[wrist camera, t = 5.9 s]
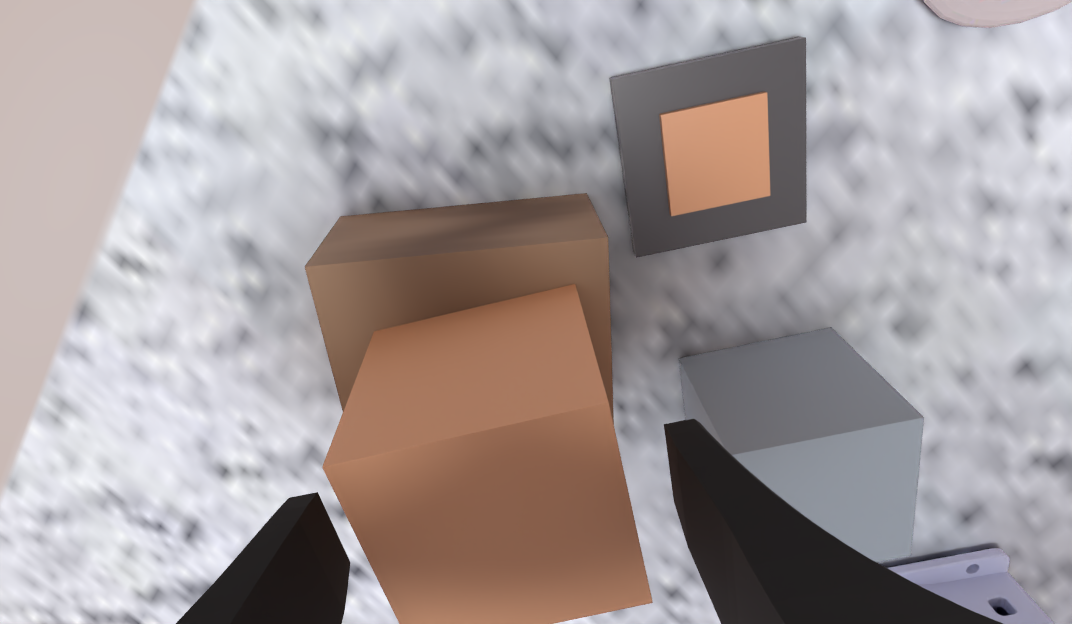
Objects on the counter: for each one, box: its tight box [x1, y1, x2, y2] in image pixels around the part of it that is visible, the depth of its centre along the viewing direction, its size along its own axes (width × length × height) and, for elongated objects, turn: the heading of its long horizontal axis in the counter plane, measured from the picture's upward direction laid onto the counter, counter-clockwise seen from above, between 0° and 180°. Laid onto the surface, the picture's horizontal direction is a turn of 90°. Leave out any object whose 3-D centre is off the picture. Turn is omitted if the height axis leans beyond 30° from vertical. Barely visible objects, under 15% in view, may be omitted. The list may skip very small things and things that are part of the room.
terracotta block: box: [322, 284, 653, 624], centre depth 14 cm, size 5×5×5 cm
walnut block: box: [305, 193, 614, 425], centre depth 18 cm, size 7×7×4 cm
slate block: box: [679, 328, 924, 562], centre depth 19 cm, size 5×5×5 cm
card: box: [610, 37, 806, 257], centre depth 17 cm, size 5×5×1 cm
